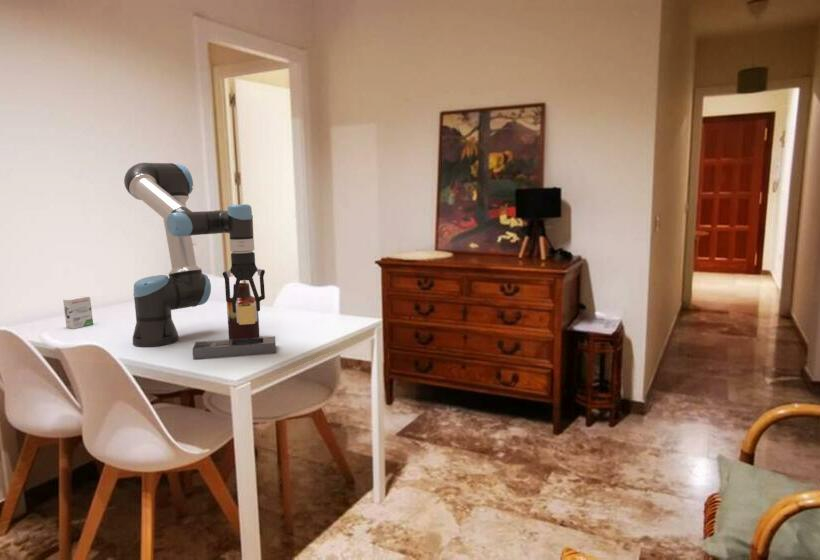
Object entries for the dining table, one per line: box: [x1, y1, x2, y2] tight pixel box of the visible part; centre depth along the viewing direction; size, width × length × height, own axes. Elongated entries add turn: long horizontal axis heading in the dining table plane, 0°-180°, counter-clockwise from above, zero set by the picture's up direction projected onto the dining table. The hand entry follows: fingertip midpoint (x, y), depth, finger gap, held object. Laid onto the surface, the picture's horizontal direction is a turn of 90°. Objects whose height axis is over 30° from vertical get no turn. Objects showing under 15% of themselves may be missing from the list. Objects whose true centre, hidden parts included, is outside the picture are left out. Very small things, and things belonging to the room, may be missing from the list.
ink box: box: [63, 296, 94, 330], centre depth 232 cm, size 9×5×12 cm, turn 148°
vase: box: [226, 282, 260, 340], centre depth 208 cm, size 11×11×20 cm
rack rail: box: [192, 335, 277, 360], centre depth 192 cm, size 26×9×4 cm, turn 104°
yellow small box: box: [238, 303, 255, 325], centre depth 191 cm, size 5×5×7 cm
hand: (247, 321), depth 191 cm, fingers closed on yellow small box, 5 cm apart
